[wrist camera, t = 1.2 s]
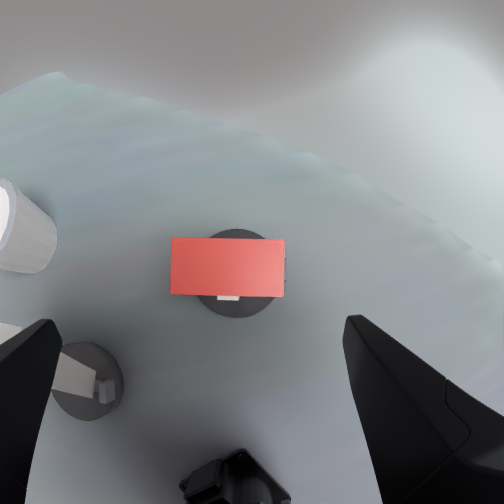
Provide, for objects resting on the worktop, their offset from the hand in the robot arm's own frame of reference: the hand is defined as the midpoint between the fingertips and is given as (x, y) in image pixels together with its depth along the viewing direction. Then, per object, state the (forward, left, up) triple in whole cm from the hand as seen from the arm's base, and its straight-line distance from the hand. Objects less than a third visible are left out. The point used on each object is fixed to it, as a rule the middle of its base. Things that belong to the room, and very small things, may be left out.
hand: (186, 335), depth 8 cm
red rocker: (+2, -3, -12) cm, 13 cm away
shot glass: (+15, +11, -14) cm, 23 cm away
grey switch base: (+2, +12, -14) cm, 18 cm away
